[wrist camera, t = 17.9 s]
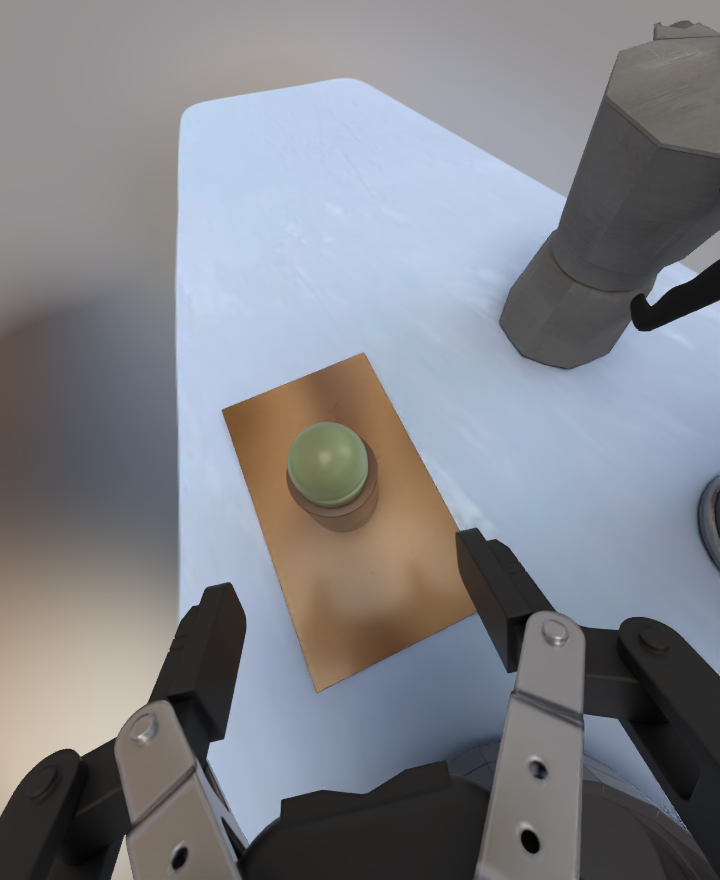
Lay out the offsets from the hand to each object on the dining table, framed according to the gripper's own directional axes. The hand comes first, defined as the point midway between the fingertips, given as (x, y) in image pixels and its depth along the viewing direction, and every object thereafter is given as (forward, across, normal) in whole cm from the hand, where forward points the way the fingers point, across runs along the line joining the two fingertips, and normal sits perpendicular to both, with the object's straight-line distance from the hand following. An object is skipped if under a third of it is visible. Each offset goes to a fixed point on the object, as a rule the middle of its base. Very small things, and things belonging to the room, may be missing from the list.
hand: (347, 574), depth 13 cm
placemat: (+12, 0, +4) cm, 12 cm away
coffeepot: (+18, -19, -2) cm, 27 cm away
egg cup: (+11, 0, +4) cm, 12 cm away
